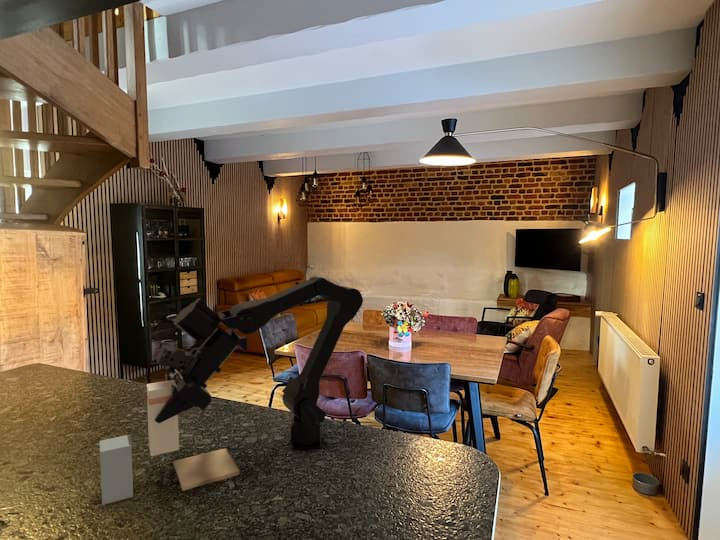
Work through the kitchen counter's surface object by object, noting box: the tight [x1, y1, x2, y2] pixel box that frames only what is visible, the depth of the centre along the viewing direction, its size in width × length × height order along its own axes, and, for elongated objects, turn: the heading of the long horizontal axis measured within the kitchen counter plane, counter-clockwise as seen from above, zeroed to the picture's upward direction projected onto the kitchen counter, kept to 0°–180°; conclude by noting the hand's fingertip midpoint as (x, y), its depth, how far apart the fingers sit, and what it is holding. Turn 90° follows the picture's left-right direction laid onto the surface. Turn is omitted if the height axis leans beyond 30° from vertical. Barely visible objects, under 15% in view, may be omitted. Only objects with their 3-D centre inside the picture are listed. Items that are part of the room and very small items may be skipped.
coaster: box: [172, 447, 241, 492], centre depth 90 cm, size 11×11×1 cm
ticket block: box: [99, 434, 134, 506], centre depth 81 cm, size 5×5×10 cm
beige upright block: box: [146, 380, 180, 457], centre depth 85 cm, size 5×4×13 cm
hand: (155, 417), depth 84 cm, fingers closed on beige upright block, 4 cm apart
